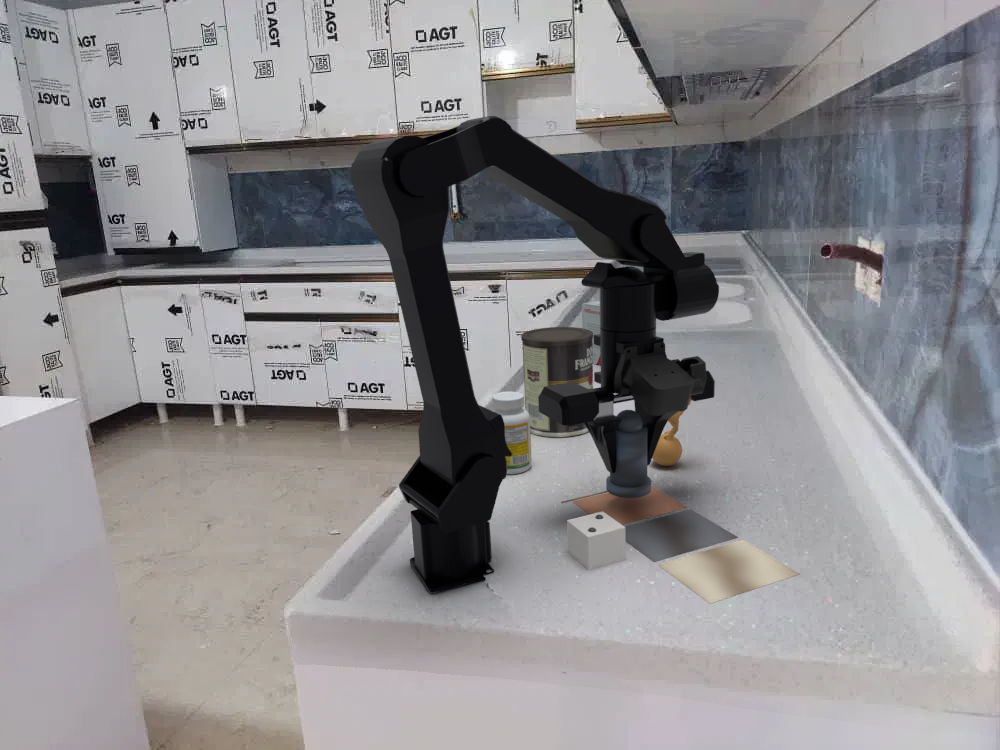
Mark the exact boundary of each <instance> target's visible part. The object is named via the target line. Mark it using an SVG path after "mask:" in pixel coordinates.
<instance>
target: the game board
mask: <svg viewBox="0 0 1000 750" xmlns="http://www.w3.org/2000/svg"><path fill="white" fill-rule="evenodd" d="M652 482H653V480H651V483H652ZM569 502H572V503H573V504H575V505H576V506H577V507H579V508H580V509H581V510H583V511H584V512H586V513H587V515H590V514H594V513H598V512H602V511H603V512H604V513H606V514H607V515H609V516H610V517H611V518H613V519H614V520H616V521H617V522H618V523H620V524H621V525H623V526H624V527H625V543H627V544H629V546H631V547H633V548H634V549H636V551H638V552H640V553H641V554H642V555H643V556H644V557H646V558H647V559H649V560H650V561H652V562H653V563H655V562H656V563H657V562H659V561H663V560H667V559H670V558H673V557H676V556H680V555H683V554H686V553H690V552H691V553H692V552H694V551H697V550H700V549H704V548H708V547H711V546H714V545H717V544H721V543H725V542H728V541H731V540H736V539H738V538H739V536H737V535H735V534H734V533H732V532H730V531H728V530H727V529H725V528H724V527H722V526H720V525H719V524H717V523H715V522H713V521H711V520H710V519H708V518H707V517H706V516H703V515H702V514H700V513H698V512H696V511H695V510H693V509H692V508H690V509H687V508H688V506H686V505H684V504H683V503H682V502H679V501H678V500H677V499H675V498H673V497H671V496H669V495H668V494H666V493H664V492H663V491H661V490H659V489H657V488H656V487H654V486H652V485H651V491H650V493H649V494H647V495H645V496H642V497H637V498H623V497H618V496H614V495H612V494H610V493H609V492H608V491H607V490H604V491H600V492H595V493H593V494H588V495H583V496H579V497H575V498H572V499H567V500H563V501H561V504H565V503H569ZM683 509H686V510H683ZM678 510H683V511H678ZM676 511H678V512H676ZM671 512H676V513H671ZM667 513H670V514H668V515H664V514H667ZM660 515H662V516H660ZM663 515H664V516H663ZM657 516H660V517H657ZM652 517H655V518H653V519H649V518H652ZM645 519H649V520H645ZM640 520H643V521H640ZM637 521H640V522H637ZM633 522H637V523H633ZM629 523H633V524H629ZM625 524H628V525H627V526H626V525H625ZM657 566H658V567H659V568H661V569H662V570H663V571H665V572H666V573H668V574H669V575H670V576H671V577H673V578H675V579H676V580H677V581H678V582H679V583H681V584H682V585H683V586H685V587H686V588H687V589H689V590H690V591H692V592H693V593H694V594H696V595H697V596H699V597H700V598H701V599H702V600H704V601H706V602H707V603H708V604H710V605H712V604H714V603H717V602H720V601H723V600H726V599H730V598H733V597H736V596H739V595H741V594H742V595H743V594H744V593H748V592H751V591H754V590H757V589H759V588H763V587H766V586H769V585H773V584H775V583H778V582H781V581H784V580H787V579H790V578H793V577H797V576H800V575H801V573H800V572H798V571H797V570H794V569H793V568H792V567H789V566H788V565H786V564H784V563H783V562H781V561H779V560H777V559H776V558H774V557H773V556H771V555H770V554H767V553H766V552H764V551H763V550H761V549H759V548H757V547H756V546H754V545H753V544H751V543H750V542H747V541H746V540H743V539H741V540H737V541H733V542H730V543H726V544H723V545H720V546H717V547H712V548H709V549H706V550H704V551H700V552H696V553H693V554H688V555H685V556H683V557H680V558H675V559H672V560H669V561H665V562H663V563H658V564H657Z"/></svg>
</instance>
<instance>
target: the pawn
mask: <svg viewBox="0 0 1000 750" xmlns="http://www.w3.org/2000/svg"><path fill="white" fill-rule="evenodd" d="M616 416H617V417H619V418H621V419H622V421H621V422H620V424H619V425H618V427H617V429H616V455H617V463H616V472H615V473H610V472H609V476H607V478H606V480H605V481H606V485H605V486H606V487H605V488H606V491H608V492H607V493H610V494H612V495H614V496H618V497H623V498H637V497H642V496H645V495H647V494H649V493H650V491H651V486H652V482H651V481H652V480H651V477H649V476H648V465H647V427H646V426H645V425H643V422H642V418H641V416H640V415H639V414H638V413H637V412H635V410H632V409H624V410H622V411H619V412H618V413H617V414H616Z"/></svg>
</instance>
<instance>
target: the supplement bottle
mask: <svg viewBox="0 0 1000 750" xmlns="http://www.w3.org/2000/svg"><path fill="white" fill-rule="evenodd" d="M491 399H492V400H491V404H492V405H491V406H492V407H493V410H492V411H493V412H496V413H498V414H500V415H502V418H503V421H504V425H505V441H506V444H507V447H508V448H509V450H510V451H511V453H512V456H511V457H509V456H506V460H507V475H517V474H521V473H524V472H527V471H528V470H529V469H531V467H532V463H533V461H532V460H533V459H532V437H531V435H532V433H531V431H530V415H529V413H528V412H527V411H526V410H525V408H524V406H525V394H523V393H522V392H518V391H501V392H497V393H494V394H492V396H491Z"/></svg>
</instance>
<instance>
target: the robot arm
mask: <svg viewBox="0 0 1000 750" xmlns="http://www.w3.org/2000/svg"><path fill="white" fill-rule="evenodd" d="M481 172H482V173H484V174H485V175H487V176H488V177H490V178H492V179H494V180H495V181H497V182H499V183H500V184H502V185H504V186H505V187H507V188H509V189H511V190H512V191H514V192H515V193H517V194H518V195H521V196H522V197H524V198H526V199H527V200H529V201H531V202H533V203H534V204H536V205H538V206H540V207H541V208H542V209H545V210H546V211H548V212H550V213H551V214H553V215H554V216H556V217H558V218H560V219H561V220H563V221H564V222H565V223H567V224H568V226H570V228H572V230H573V232H574V233H575V236H576V237H577V239H578V240H579V241H580V242H581V243H582V244H583V245H584V246H585V247H587V248H588V249H589V250H590V251H591V252H592V253H594V254H595V255H596V256H597V257H599V258H602V259H605V260H612V261H613V260H614V261H616V262H617V263H618V264H620V265H622V267H615V266H614V265H613V264H612V263H610V262H602V261H601V262H600V261H597V262H596V263H595V265H594V267H593V268H592V269H591V270H590V271H589V272H588V273H587V274H586V275H585V276H584V277H583V278H582V280H581V285H582V286H584V287H589V288H595V289H599V301H600V334H597V335H594V344H595V345H598V346H600V360H601V365H600V371H595V372H594V371H593V373H594V374H593V382H595V383H598V384H599V385H600V386H599V387H595V388H594V387H593V389H587V388H585V387H583V386H581V385H579V384H576V383H574V382H569V383H563V384H557V385H551V386H545V387H544V388H543V390H542V392H541V393H540V395H539V397H538V400H539V412H540V413H542V414H544V415H545V416H547V417H549V418H551V419H552V420H554V421H556V422H558V423H559V424H561V425H568V426H571V425H576V424H581V423H584V424H585V426H586V428H587V429H588V431H589V432H588V433H589V434H590V436H591V438H592V440H593V442H594V445H595V447H596V449H597V451H598V454H599V455H600V458H601V460H602V462H603V464H604V466H605V468H606V471H607V472H609V474H610V473H615V472H616V463H617V455H616V429H617V427H618V425H619V424H620V422H621V421H622V419H621V418H619V417H617V415H615V414H614V404H618V403H619V404H620V403H625V402H629V401H633V403H634V411H635V412H637V413H638V414H639V415H640V416H641V418H642V422H643V425H645V426H646V427H647V466H649V465H650V464H651V461H652V460H653V458H652V457H653V454H654V452H655V449H656V447H657V444H658V441H659V439H660V436H661V435H662V434H663V431H664V429H665V427H666V426H667V423H668V422H669V421H668V420H669V418H671V417H672V416H673V415H675V414H676V413H677V412H679V411H684V410H685V411H687V410H688V407H689V406H688V404H689V401H690V400H691V402H692V401H693V402H698V401H703V400H708V399H713V398H715V395H716V394H715V392H716V391H715V388H716V381H715V378H714V377H713V375H712V373H711V372H710V371H709V370H707V363H706V362H705V361H704V359H702V358H701V357H700V356H699V355H696V356H691V357H690V356H688V357H684V358H682V359H681V360H680V359H679V358H677V359H670V358H668V355H667V353H666V344H665V338H663V337H660V336H657V321H658V320H659V321H663V322H665V321H671V320H677V319H682V318H687V317H692V316H697V315H703V314H707V313H708V312H710V311H711V310H713V309H714V307H715V306H716V304H717V301H718V299H719V294H720V286H719V284H718V282H717V278H716V275H715V273H714V272H713V271H712V269H711V268H710V267H709V266H708V265H707V264H705V259H706V257H705V255H706V254H705V253H704V252H699V251H698V252H695V251H688V252H687V251H686V252H683V250H682V249H681V247H680V245H679V244H678V242H677V240H676V239H675V237H674V235H673V233H672V232H671V229H670V227H669V226H668V224H667V222H666V221H667V215H666V213H665V211H664V210H663V208H661V207H660V206H659V205H657V204H655V203H653V202H651V201H648V200H646V199H643V198H640V197H637V196H635V195H633V194H627V193H624V192H620V191H616V190H612V189H608V188H606V187H603V186H601V185H599V184H598V183H596V182H595V181H592V180H591V179H590V178H589V177H587V176H585V175H583V173H581V172H579V171H577V170H576V169H574V168H573V167H571V166H570V165H569V164H566V163H565V162H563V161H562V160H560V159H559V158H557V157H556V156H554V155H553V154H552V153H550V152H548V151H547V150H545V149H543V148H542V147H541V146H539V144H537V143H535V142H533V141H532V140H530V139H528V138H527V137H526V136H524V135H522V134H520V132H518V131H516V130H514V129H513V128H512V125H510V124H509V123H508V122H507V121H506V120H505V119H503V118H501V117H498V116H496V115H490V116H489V115H488V116H482V117H477V118H472V119H467V120H464V121H462V122H461V123H460V124H459V125H458V126H457V125H456V126H455V127H452V128H449V129H446V130H443V131H440V132H436V133H434V134H431V135H428V136H425V137H421V136H419V135H403V136H397V137H392V138H387V139H382V140H375V141H372V142H370V143H368V144H366V145H365V146H364V147H362V149H360V151H358V153H357V155H356V156H355V158H354V161H353V162H352V163H351V167H350V177H351V178H350V179H351V184H352V188H353V190H354V192H355V195H356V197H357V200H358V202H359V204H360V207H361V209H362V212H363V214H364V216H365V219H366V221H367V223H368V224H369V226H370V227H371V229H372V230H373V232H374V234H375V235H376V237H377V238H378V240H379V241H380V243H381V244H382V246H383V247H384V249H385V251H386V253H387V255H388V258H389V263H390V267H391V270H392V274H393V279H394V283H395V289H396V292H397V296H398V300H399V301H398V302H399V305H400V310H401V313H402V317H403V321H404V326H405V330H406V335H407V338H408V343H409V347H410V351H411V356H412V358H413V359H412V360H413V363H414V368H415V372H416V376H417V380H418V385H419V389H420V393H421V397H422V402H423V409H422V414H421V419H420V421H419V426H418V432H417V433H418V445H419V446H418V447H419V456H418V457H417V459H416V460H415V462H414V463H413V465H412V466H411V467H410V468H409V469H408V471H407V472H406V474H405V475H404V477H403V478H402V479H401V481H400V482H399V484H398V489H399V491H400V493H401V494H402V497H403V498H404V500H405V502H407V503H408V504H411V506H412V507H414V508H415V509H413V510H411V511H410V520H411V521H410V522H411V532H412V533H411V534H412V546H413V554H414V555H413V557H411V558H409V565H410V567H411V568H412V570H413V572H415V574H416V576H417V577H418V578H419V580H420V581H421V582H422V583H421V584H423V586H424V588H426V590H427V592H428V593H432V594H434V593H438V592H441V591H445V590H449V589H452V588H457V587H461V586H465V585H468V584H471V583H474V582H478V581H482V580H485V579H486V577H485V576H488V575H492V574H494V573H495V569H494V568H493V567H492V565H490V562H491V561H492V542H491V541H492V539H491V522H490V521H491V519H492V516H493V512H494V509H495V506H496V505H495V504H496V501H497V497H498V493H499V490H500V486H501V484H502V482H503V480H505V479H506V477H507V475H508V474H507V460H506V456H509V457H511V456H512V453H511V451H510V450H509V448H508V447H507V444H506V441H505V425H504V421H503V418H502V415H500V414H498V413H496V412H493V410H491V409H489V408H487V407H484V406H482V405H480V404H479V402H478V400H477V398H476V395H475V392H474V388H473V387H474V386H473V382H472V378H471V374H470V368H469V363H468V359H467V354H466V353H467V352H466V349H465V345H464V340H463V335H462V331H461V330H462V329H461V325H460V320H459V316H458V311H457V307H456V302H455V297H454V292H453V289H452V283H451V279H450V274H449V273H450V272H449V270H448V265H447V259H446V255H445V251H444V249H445V248H444V237H445V234H446V228H447V224H448V218H449V213H450V190H449V187H451V186H454V185H457V184H459V183H461V182H464V181H466V180H467V181H468V180H469V179H471V178H472V177H474V176H475V175H477V174H478V173H481ZM640 268H642V270H643V271H642V270H641V269H640ZM685 411H684V412H685Z"/></svg>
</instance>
